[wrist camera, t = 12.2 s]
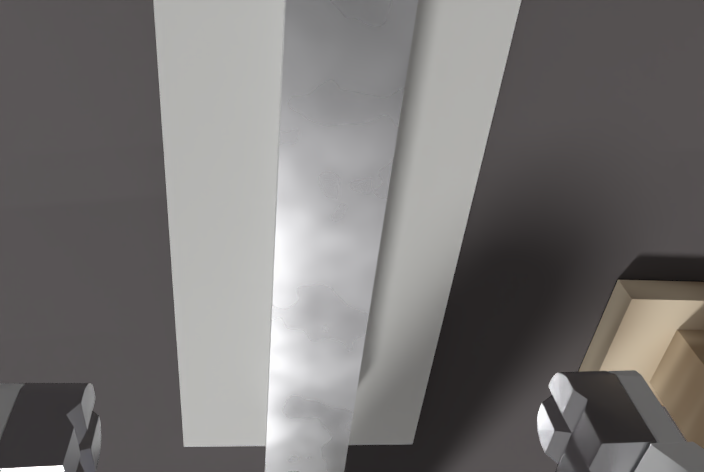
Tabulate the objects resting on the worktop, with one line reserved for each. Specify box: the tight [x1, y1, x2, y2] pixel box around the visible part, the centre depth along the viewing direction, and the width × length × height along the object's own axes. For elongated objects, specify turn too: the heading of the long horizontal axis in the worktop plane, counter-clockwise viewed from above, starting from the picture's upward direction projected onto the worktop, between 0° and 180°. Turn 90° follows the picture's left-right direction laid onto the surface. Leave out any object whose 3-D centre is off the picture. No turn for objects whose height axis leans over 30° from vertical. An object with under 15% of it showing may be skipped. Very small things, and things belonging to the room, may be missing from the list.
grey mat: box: [153, 0, 521, 447], centre depth 20 cm, size 10×28×1 cm, turn 174°
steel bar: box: [265, 0, 418, 472], centre depth 19 cm, size 3×24×3 cm, turn 174°
